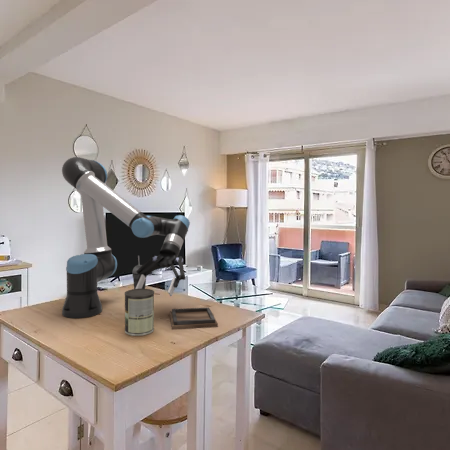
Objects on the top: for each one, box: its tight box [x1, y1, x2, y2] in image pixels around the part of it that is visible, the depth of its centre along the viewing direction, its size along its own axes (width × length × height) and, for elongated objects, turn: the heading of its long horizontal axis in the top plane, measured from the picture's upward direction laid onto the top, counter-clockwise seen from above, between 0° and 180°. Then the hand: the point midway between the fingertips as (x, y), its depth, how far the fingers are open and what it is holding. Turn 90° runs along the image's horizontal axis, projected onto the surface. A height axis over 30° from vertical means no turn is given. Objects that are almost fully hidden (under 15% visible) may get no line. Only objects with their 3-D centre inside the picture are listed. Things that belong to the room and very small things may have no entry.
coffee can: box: [124, 288, 155, 337], centre depth 121 cm, size 10×10×14 cm
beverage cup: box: [131, 255, 148, 289], centre depth 165 cm, size 7×7×20 cm
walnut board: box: [169, 307, 219, 330], centre depth 133 cm, size 17×17×2 cm
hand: (153, 292), depth 126 cm, fingers open, 13 cm apart
